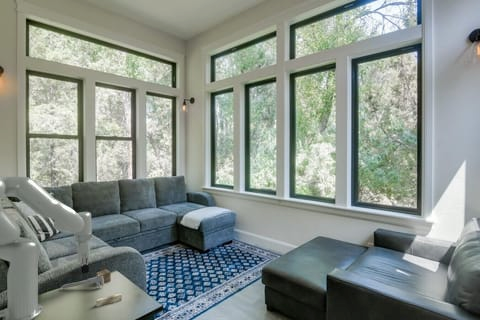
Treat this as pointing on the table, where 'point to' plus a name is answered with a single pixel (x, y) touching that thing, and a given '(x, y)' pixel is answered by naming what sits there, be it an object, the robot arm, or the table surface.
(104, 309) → the table surface
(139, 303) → the table surface
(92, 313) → the table surface
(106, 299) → the rail
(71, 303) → the table surface
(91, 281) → the caliper
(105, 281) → the walnut block
